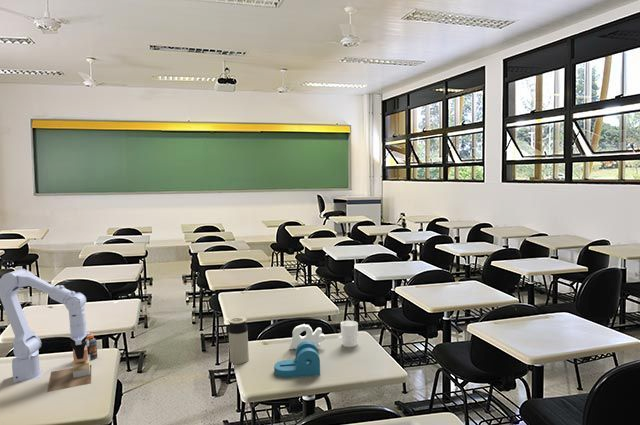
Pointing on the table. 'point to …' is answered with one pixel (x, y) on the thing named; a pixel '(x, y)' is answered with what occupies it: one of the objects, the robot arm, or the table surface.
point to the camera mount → (300, 362)
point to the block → (83, 357)
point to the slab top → (80, 365)
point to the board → (66, 380)
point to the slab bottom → (81, 373)
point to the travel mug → (238, 340)
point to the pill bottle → (91, 347)
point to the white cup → (349, 333)
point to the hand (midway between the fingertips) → (80, 356)
